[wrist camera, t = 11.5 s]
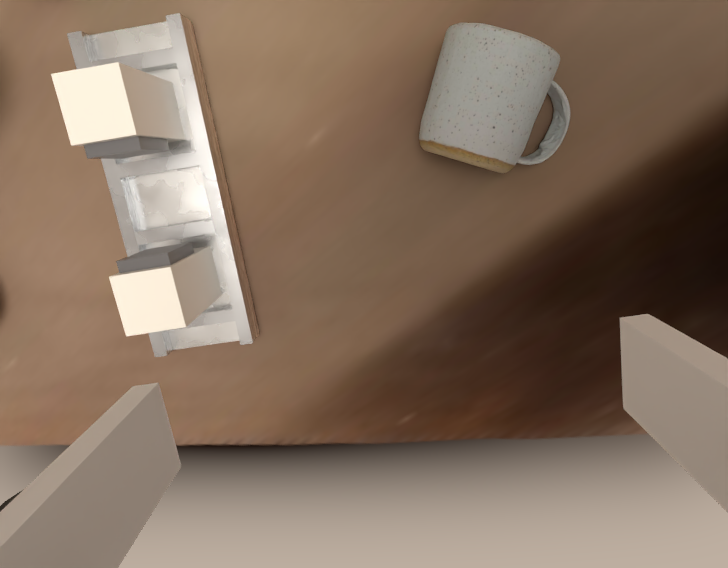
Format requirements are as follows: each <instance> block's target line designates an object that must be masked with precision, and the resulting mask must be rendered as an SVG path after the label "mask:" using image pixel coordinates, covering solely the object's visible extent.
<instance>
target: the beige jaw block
mask: <svg viewBox="0 0 728 568" xmlns="http://www.w3.org/2000/svg"><path fill="white" fill-rule="evenodd" d="M116 262H117V266H118V269H119V273H116V274H114V275H112V276H110V277H109V279H110V282H111V286H112V289H113V292H114V296H115V299H116V303H117V306H118V310H119V313H120V316H121V320H122V323H123V327H124V330H125V334H126V336H132V335H138V334H145V333H151V332H158V331H164V330H171V329H177V328H184V327H187V326H188V325H189V324H190V323H191V322H192V321H193V320H195V319H196V318H197V317H198V316H199V315H200V314H201V313H202V312H203V311H205V310H206V309H207V308H208V307H209V306H210V305H211V304H212V303H213V302H215V301H216V300H217V299H218V298H219V297H220V296H221V295H222V292H221V288H220V283H219V279H218V275H217V271H216V267H215V263H214V258H213V254H212V250H211V246H205V247H199V248H193V245H192V242H188V243H182V244H176V245H170V246H164V247H157V248H151V249H146V250H143V251H141V252H138V253H136V254H133V255H131V256H128V257H126V258H123V259H121V260H118V261H116Z"/></svg>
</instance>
